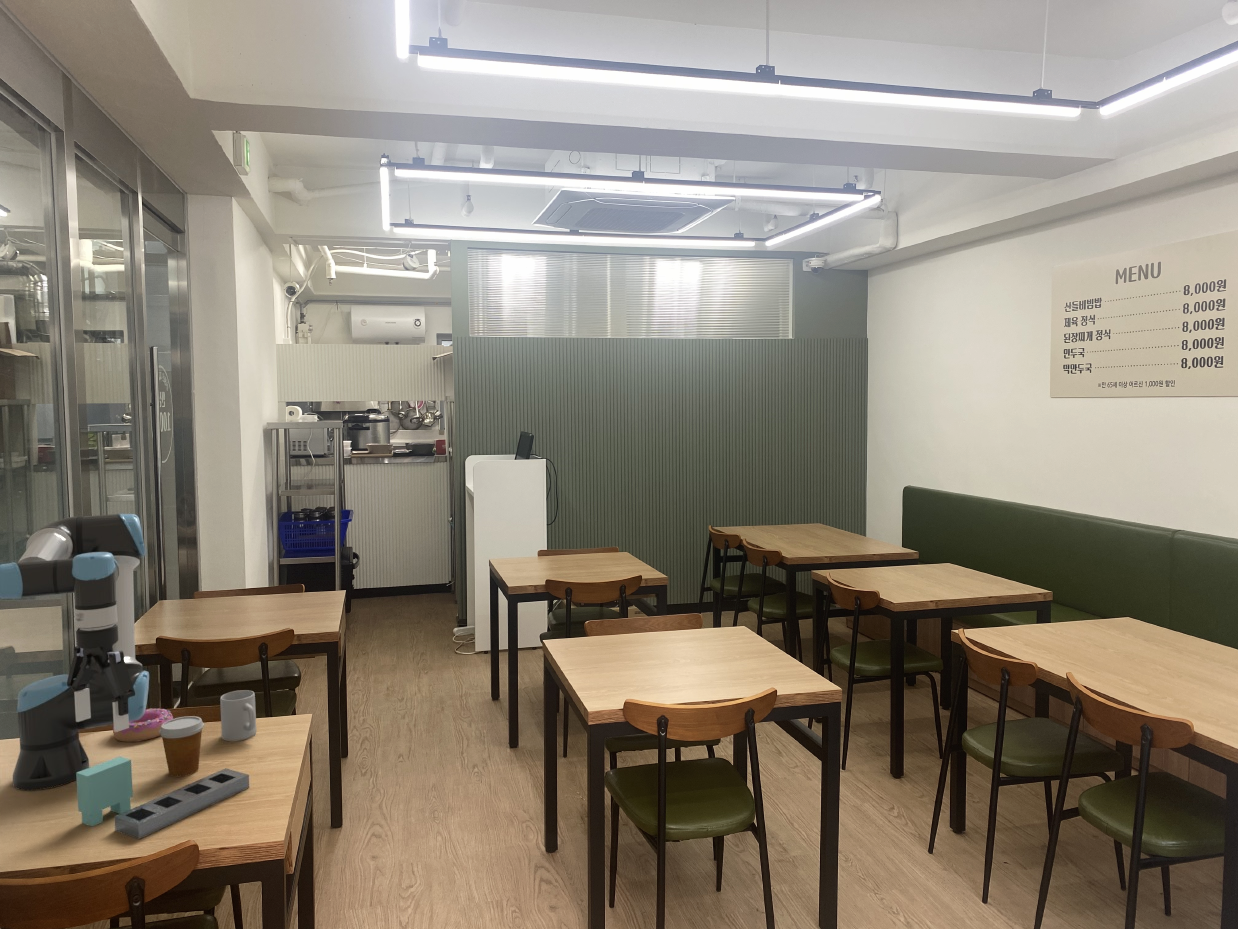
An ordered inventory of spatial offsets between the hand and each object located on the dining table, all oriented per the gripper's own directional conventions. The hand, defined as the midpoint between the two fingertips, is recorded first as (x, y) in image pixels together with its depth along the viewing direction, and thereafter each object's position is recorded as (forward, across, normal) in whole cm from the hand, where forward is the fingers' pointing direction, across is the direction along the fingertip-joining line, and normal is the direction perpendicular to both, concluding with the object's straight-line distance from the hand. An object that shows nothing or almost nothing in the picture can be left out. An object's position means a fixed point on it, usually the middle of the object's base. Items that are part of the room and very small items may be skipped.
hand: (102, 724), depth 177 cm
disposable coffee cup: (+20, -6, +22) cm, 31 cm away
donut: (+20, -39, +33) cm, 55 cm away
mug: (+20, -12, +43) cm, 49 cm away
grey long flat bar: (+20, +12, +10) cm, 25 cm away
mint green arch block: (+20, 0, 0) cm, 20 cm away
